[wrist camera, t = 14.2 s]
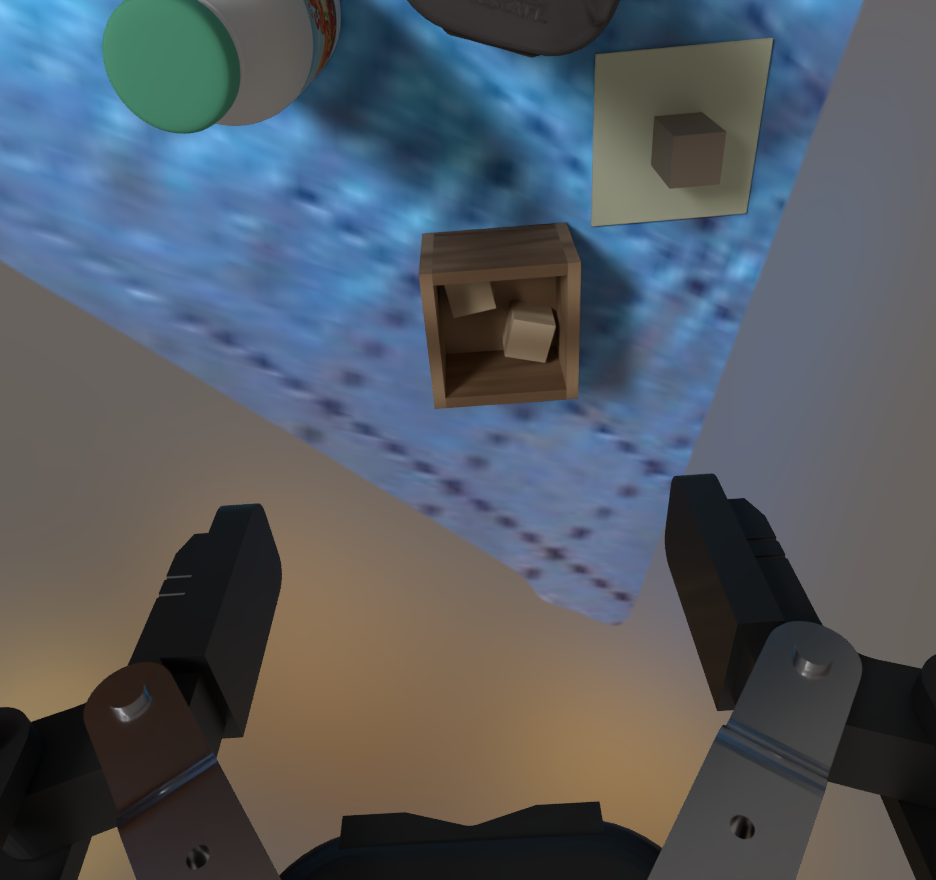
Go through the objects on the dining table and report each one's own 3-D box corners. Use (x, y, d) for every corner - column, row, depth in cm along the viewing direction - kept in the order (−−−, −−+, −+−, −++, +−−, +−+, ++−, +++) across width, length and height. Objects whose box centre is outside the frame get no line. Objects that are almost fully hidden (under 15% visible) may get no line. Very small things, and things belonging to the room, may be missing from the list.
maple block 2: (511, 300, 52) (514, 319, 49) (550, 307, 52) (555, 326, 50) (502, 336, 54) (504, 356, 51) (540, 342, 54) (545, 362, 52)
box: (422, 233, 50) (418, 274, 44) (566, 222, 49) (581, 262, 44) (436, 358, 56) (435, 408, 50) (565, 349, 55) (578, 398, 50)
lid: (593, 52, 44) (610, 69, 39) (768, 36, 43) (806, 51, 39) (589, 222, 50) (603, 254, 45) (742, 209, 50) (772, 240, 45)
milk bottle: (315, 105, 45) (239, 213, 28) (192, 41, 42) (34, 118, 26) (363, -25, 41) (306, 15, 24) (230, -104, 38) (71, -117, 22)
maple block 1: (442, 261, 50) (442, 278, 48) (484, 250, 50) (486, 268, 47) (453, 299, 52) (453, 318, 49) (493, 289, 51) (496, 308, 49)
